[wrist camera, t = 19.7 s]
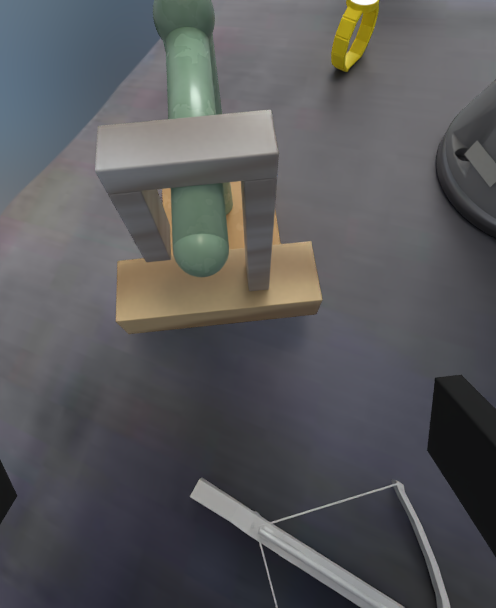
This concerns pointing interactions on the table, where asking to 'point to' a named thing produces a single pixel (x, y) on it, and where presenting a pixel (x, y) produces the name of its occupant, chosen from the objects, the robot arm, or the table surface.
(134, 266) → the grey arch on wood
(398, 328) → the table surface
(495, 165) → the robot arm
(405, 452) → the table surface
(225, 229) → the hanger stand
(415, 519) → the crossbow
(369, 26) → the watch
